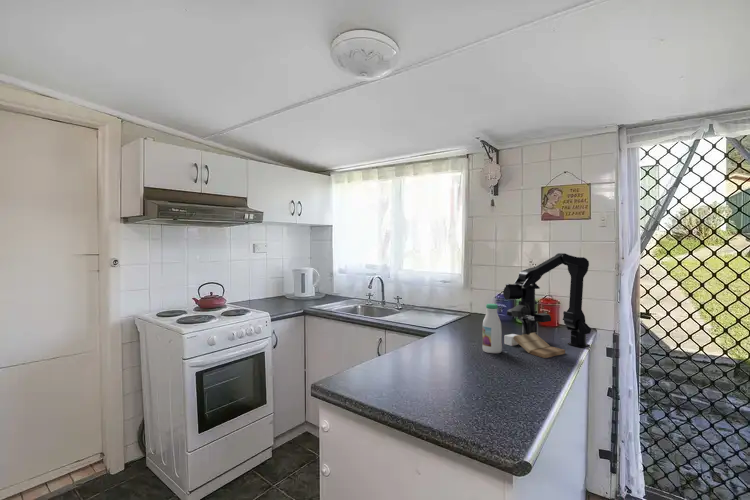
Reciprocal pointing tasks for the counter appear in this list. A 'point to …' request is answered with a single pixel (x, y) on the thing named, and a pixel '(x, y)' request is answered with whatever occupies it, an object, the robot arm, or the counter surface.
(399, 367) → the counter surface
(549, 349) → the floorboard
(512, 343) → the block
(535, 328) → the supplement bottle
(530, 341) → the plank
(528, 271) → the robot arm
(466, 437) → the counter surface
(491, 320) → the milk bottle
